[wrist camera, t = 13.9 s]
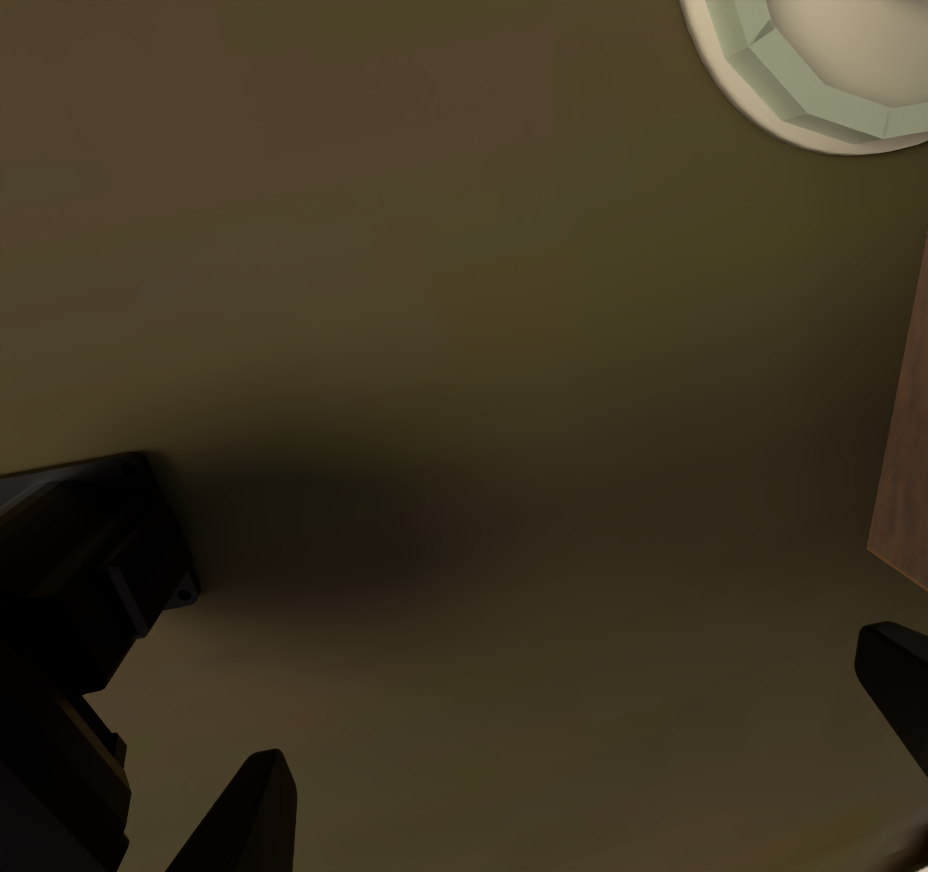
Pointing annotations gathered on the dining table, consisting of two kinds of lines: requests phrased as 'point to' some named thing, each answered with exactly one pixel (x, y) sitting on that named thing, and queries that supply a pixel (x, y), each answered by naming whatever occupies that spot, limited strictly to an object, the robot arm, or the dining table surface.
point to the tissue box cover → (907, 456)
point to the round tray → (820, 69)
